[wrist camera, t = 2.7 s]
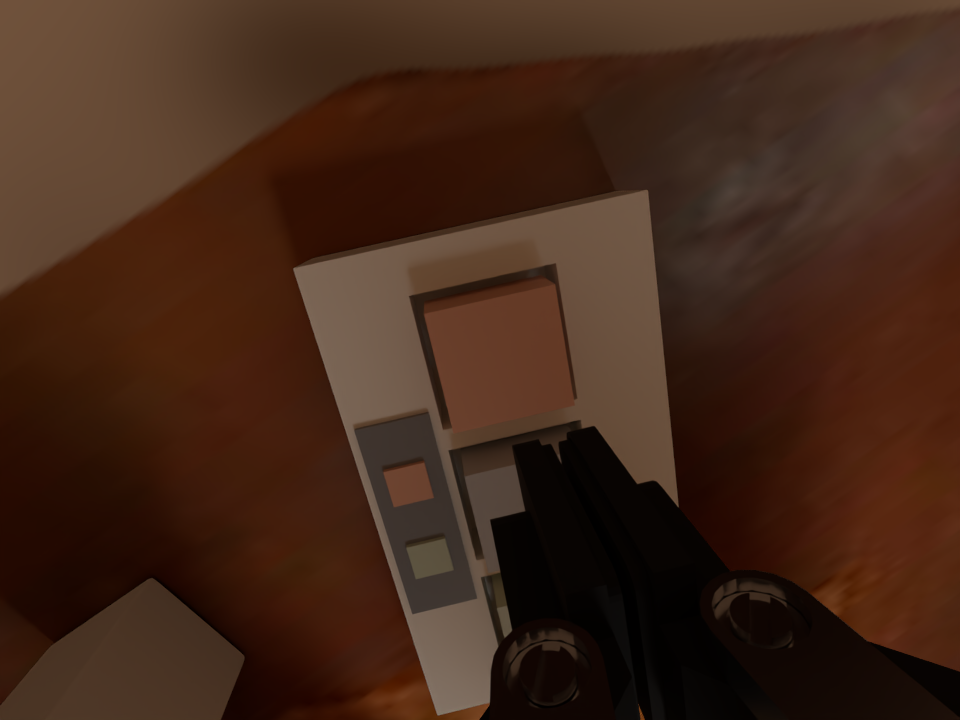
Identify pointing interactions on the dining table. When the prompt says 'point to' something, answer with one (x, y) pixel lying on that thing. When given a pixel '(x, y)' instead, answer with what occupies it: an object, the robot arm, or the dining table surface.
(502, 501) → the grey key
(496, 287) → the terracotta key
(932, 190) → the dining table surface
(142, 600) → the milk carton
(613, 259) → the keypad
